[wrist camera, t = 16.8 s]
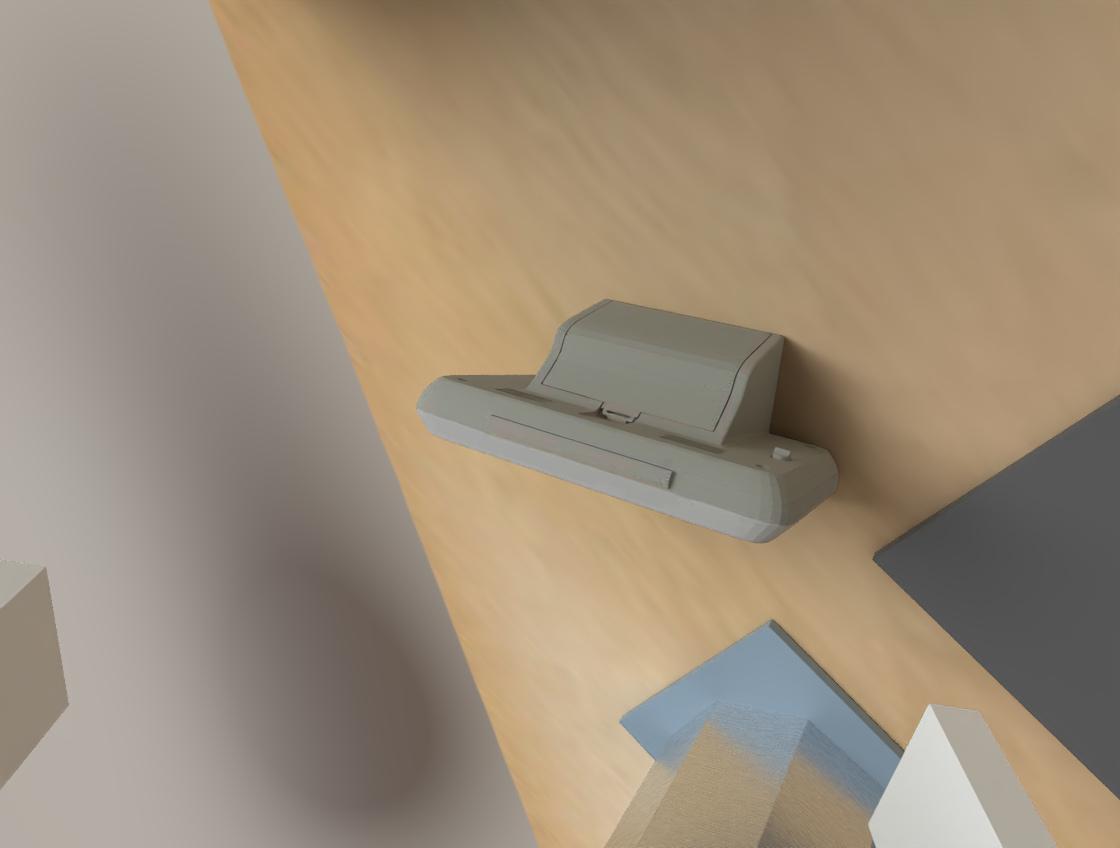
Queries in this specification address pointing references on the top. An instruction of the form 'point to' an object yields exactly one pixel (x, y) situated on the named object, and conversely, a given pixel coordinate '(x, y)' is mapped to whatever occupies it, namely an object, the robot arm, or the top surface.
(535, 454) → the digital clock
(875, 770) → the blue board
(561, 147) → the top surface
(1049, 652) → the black mat
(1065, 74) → the top surface
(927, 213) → the top surface
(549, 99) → the top surface
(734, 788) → the steel canister
